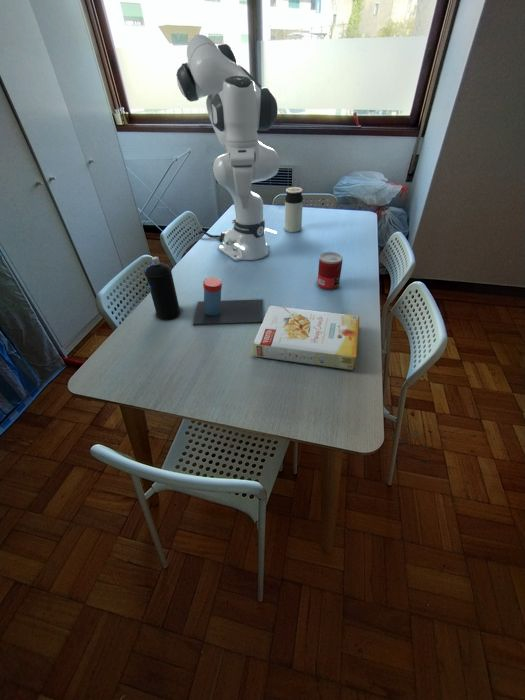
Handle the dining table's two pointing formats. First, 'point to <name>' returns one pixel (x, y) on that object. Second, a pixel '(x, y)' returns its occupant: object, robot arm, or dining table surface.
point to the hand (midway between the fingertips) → (245, 202)
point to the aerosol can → (162, 290)
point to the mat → (231, 313)
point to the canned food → (329, 270)
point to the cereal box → (308, 337)
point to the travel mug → (293, 209)
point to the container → (212, 295)
